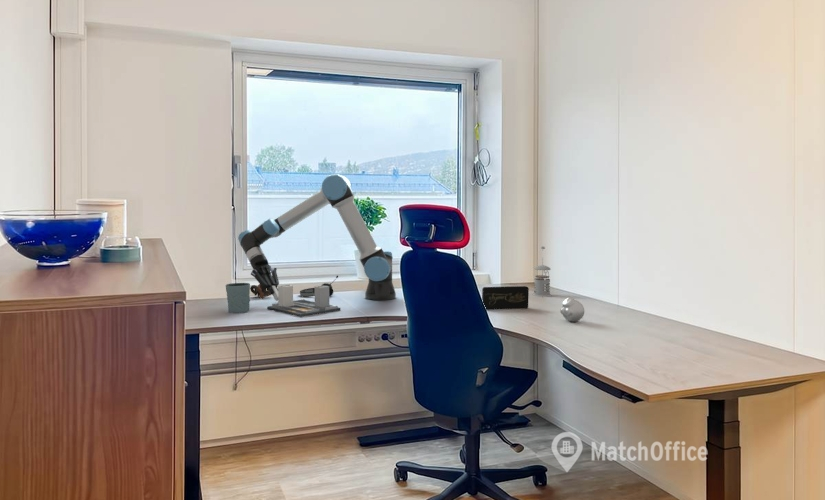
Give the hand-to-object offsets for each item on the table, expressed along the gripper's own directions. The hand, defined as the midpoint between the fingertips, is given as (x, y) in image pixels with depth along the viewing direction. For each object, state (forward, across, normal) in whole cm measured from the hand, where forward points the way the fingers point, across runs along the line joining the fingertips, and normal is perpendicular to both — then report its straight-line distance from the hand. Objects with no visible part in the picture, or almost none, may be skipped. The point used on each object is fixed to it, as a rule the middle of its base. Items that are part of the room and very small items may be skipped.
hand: (278, 298), depth 267 cm
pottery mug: (-18, -10, -24) cm, 32 cm away
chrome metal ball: (+80, -65, +74) cm, 127 cm away
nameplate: (+55, -70, +49) cm, 102 cm away
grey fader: (+15, -10, +11) cm, 21 cm away
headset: (-7, -34, -14) cm, 38 cm away
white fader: (+6, 0, +2) cm, 6 cm away
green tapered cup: (0, +18, -6) cm, 18 cm away
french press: (+49, -116, +43) cm, 133 cm away
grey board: (+12, -5, +6) cm, 14 cm away
